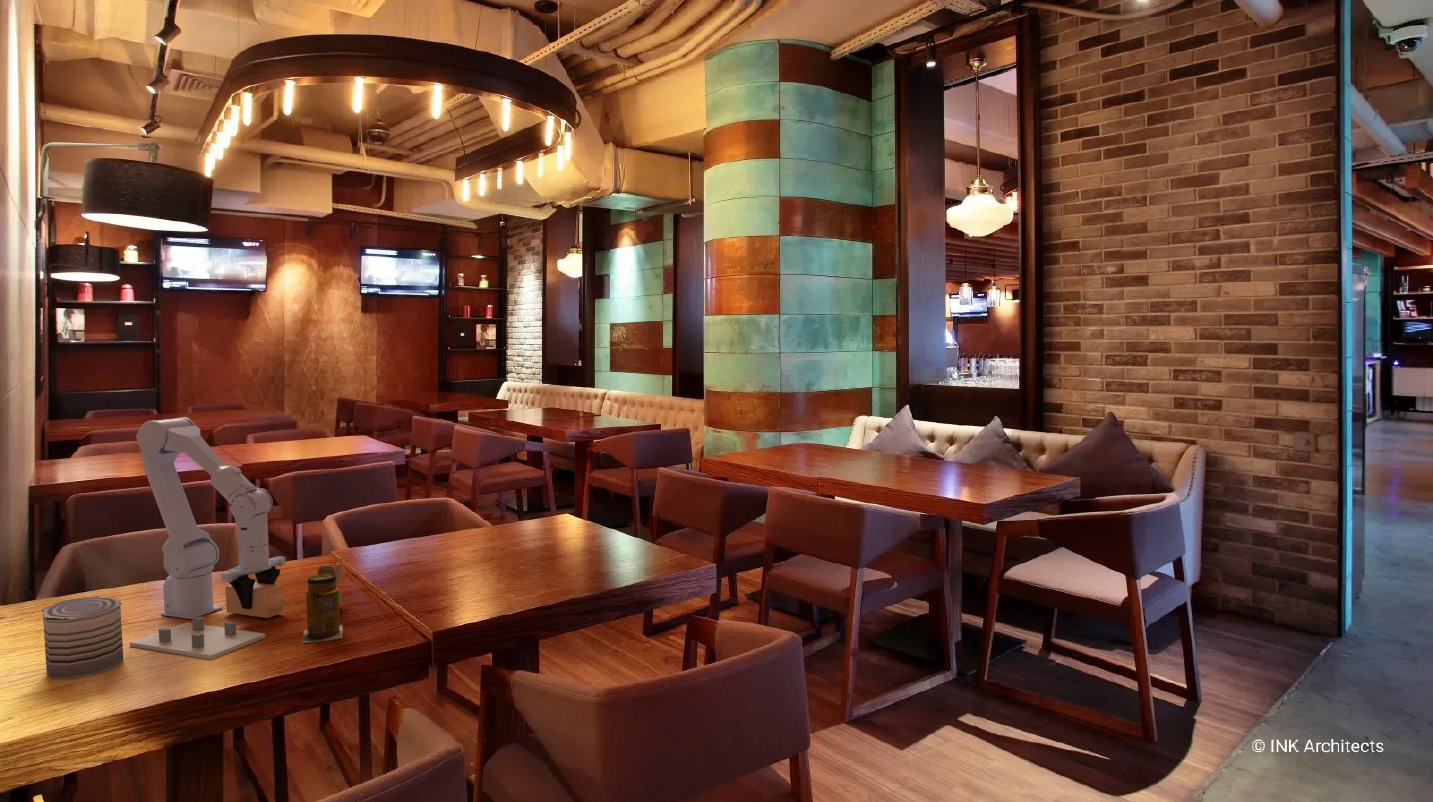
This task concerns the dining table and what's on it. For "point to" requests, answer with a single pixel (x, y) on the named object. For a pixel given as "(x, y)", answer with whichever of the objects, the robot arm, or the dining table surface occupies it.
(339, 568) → the snail figurine
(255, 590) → the block
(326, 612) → the condiment
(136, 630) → the dining table surface
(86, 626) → the can
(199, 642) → the cradle jig
